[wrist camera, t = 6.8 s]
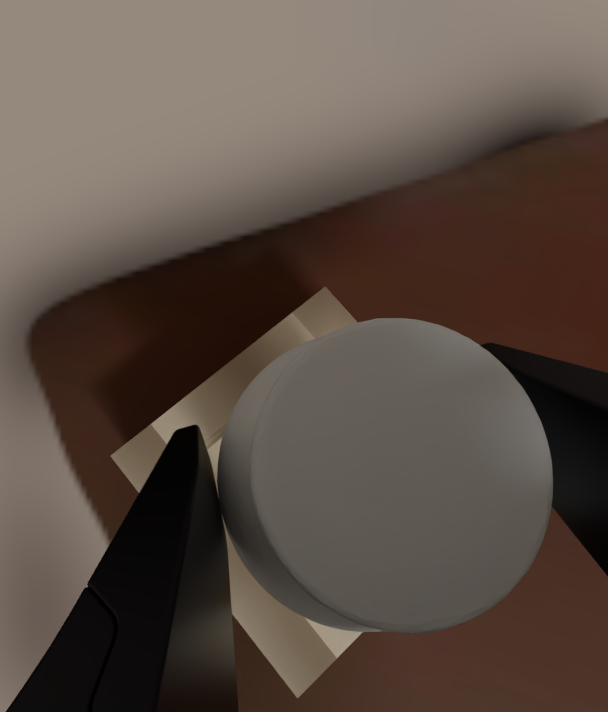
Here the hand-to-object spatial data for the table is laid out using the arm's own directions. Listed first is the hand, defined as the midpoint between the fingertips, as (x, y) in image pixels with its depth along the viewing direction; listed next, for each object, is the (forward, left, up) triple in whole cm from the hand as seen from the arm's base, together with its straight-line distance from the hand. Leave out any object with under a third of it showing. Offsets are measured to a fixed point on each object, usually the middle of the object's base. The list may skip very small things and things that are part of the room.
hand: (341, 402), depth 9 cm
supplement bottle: (-1, -1, -7) cm, 7 cm away
